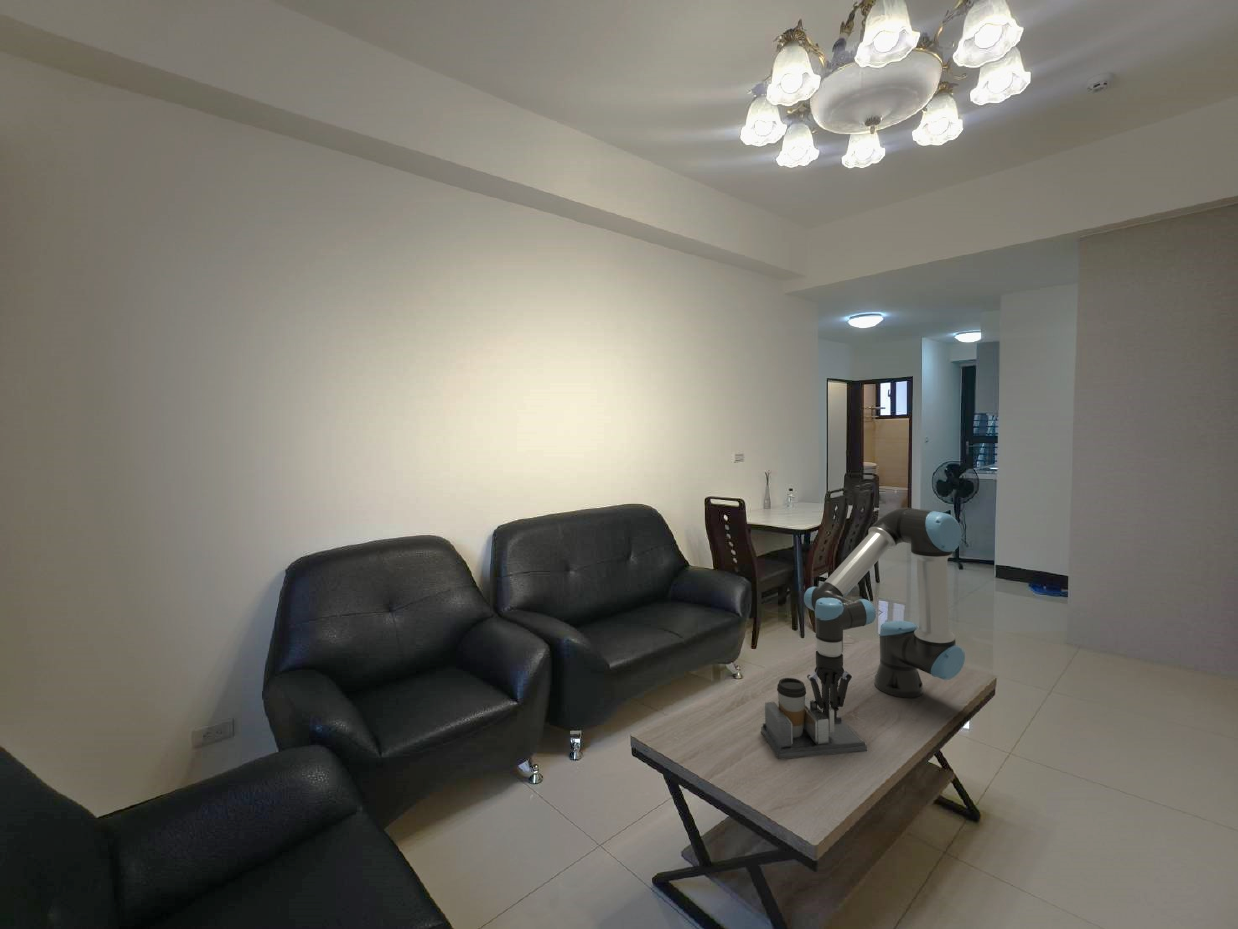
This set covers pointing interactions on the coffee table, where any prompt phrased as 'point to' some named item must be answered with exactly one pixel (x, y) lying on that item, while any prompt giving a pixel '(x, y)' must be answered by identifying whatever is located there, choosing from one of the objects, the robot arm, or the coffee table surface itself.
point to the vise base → (806, 737)
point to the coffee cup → (792, 702)
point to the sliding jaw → (815, 723)
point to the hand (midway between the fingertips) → (829, 729)
